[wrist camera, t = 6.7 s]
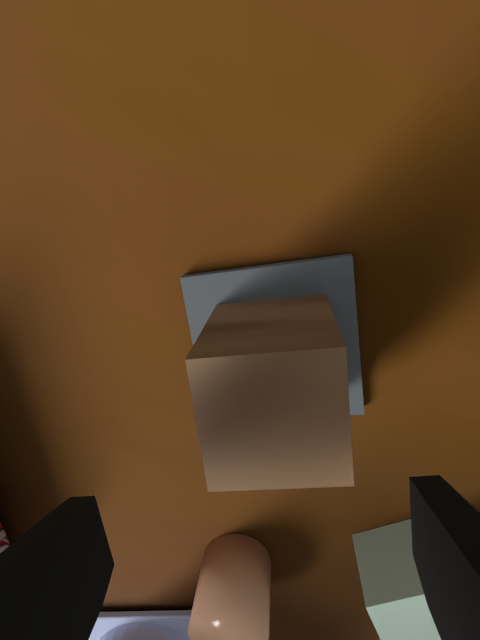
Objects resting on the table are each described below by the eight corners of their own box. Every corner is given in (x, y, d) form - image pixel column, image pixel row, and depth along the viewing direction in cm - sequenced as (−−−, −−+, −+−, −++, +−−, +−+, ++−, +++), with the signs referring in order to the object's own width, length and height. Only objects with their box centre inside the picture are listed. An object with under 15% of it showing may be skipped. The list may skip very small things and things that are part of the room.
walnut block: (332, 394, 19) (354, 486, 13) (230, 400, 19) (208, 491, 13) (325, 293, 17) (346, 346, 12) (216, 304, 18) (185, 359, 12)
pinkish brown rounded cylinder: (275, 586, 23) (273, 665, 19) (209, 587, 23) (195, 665, 20) (266, 531, 22) (263, 604, 18) (198, 534, 22) (181, 605, 19)
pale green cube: (454, 573, 22) (490, 656, 18) (377, 592, 22) (396, 674, 19) (431, 512, 21) (463, 585, 17) (351, 533, 22) (365, 607, 18)
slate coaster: (362, 407, 19) (364, 414, 19) (210, 419, 20) (208, 426, 20) (350, 253, 17) (352, 255, 17) (183, 275, 18) (180, 277, 18)
